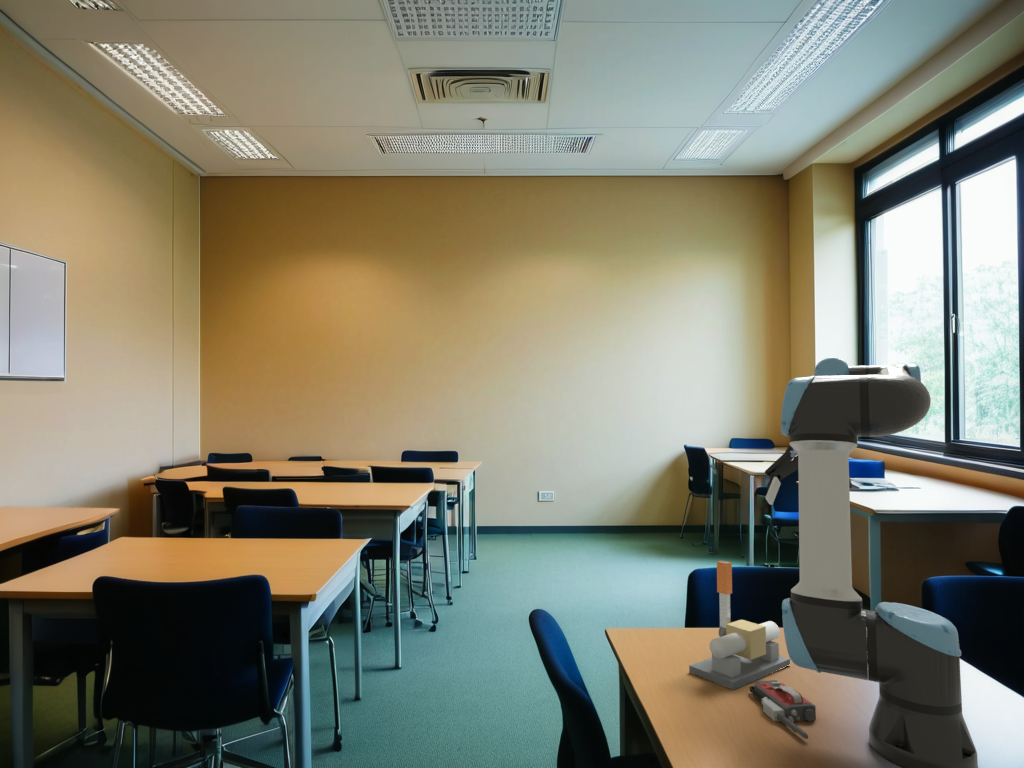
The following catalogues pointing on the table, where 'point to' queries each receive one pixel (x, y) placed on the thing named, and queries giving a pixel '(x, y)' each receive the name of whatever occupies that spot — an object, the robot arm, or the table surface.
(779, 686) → the walkie-talkie
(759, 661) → the valve rig
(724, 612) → the valve lever
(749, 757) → the table surface
